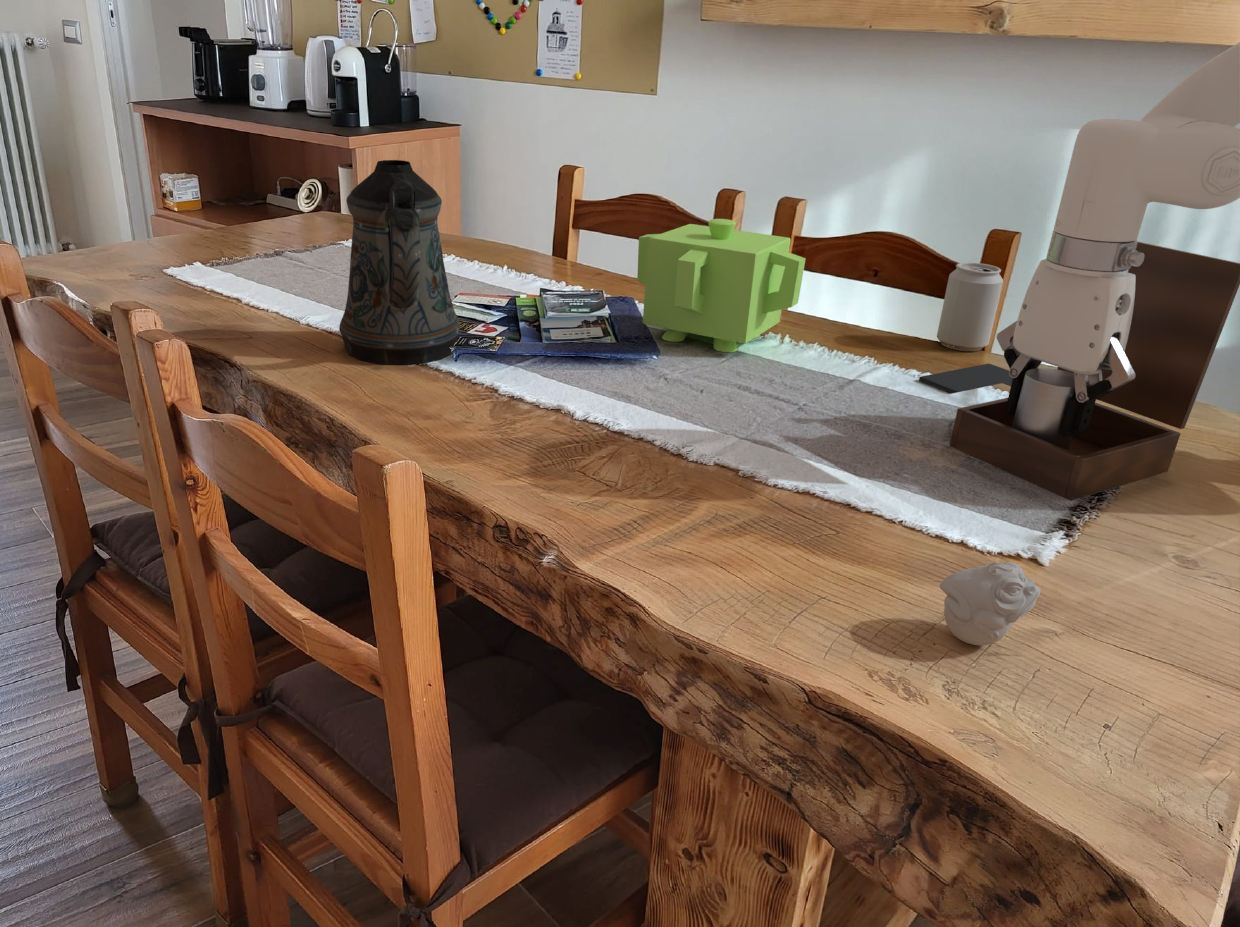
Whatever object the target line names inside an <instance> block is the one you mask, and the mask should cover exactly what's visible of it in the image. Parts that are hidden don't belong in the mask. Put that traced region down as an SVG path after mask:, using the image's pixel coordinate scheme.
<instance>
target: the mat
mask: <svg viewBox="0 0 1240 927" xmlns="http://www.w3.org/2000/svg"><path fill="white" fill-rule="evenodd" d="M1009 370H1010V369H1005V368H1003V367H1000V366H998V365H995V364H992V363H983V364H978V365H973V366H968V367H962V368H957V369H953V370H948V371H942V372H937V373H932V374H926V375H921V376H919V378H918V381H919V382H921V383H924V384H926V385H928V386H931V387H934V388H936V389H939V390H941V391H944V392H947V393H948V394H957V393H962V392H967V391H972V390H976V389H981V388H986V387H992V386H995V385H996V386H997V385H1000V384H1003V385H1006V386H1008V387H1011V384H1012V380H1013V378H1011V377H1010V375H1009Z"/></svg>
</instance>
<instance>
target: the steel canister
mask: <svg viewBox="0 0 1240 927" xmlns="http://www.w3.org/2000/svg"><path fill="white" fill-rule="evenodd" d="M1057 369H1058V368H1057ZM1057 369H1055V368H1046V367H1045V368H1043V367H1040V368H1039V367H1038V368H1037V369H1030V370H1028V371H1026V373H1025V377H1024V381H1023V385H1022V389H1021V393H1020V397H1019V401H1018V404H1017V408H1016V412H1015V416H1014V420H1013V424H1012V428H1014V429H1016V430H1019V431H1021V432H1024V433H1026V434H1029V435H1031V436H1034V437H1036V438H1038V439H1041V440H1043V441H1046V442H1048V443H1051V444H1053V445H1056V446H1058V447H1061V448H1063V449H1066V450H1068V451H1069V447H1070V443H1071V440H1072V436H1070V437H1064V436H1062V435H1061V433H1060V432H1061V428H1062V425H1063V421H1064V417H1065V414H1066V410H1067V407H1068V403H1069V401H1070V400H1072V399H1076V392H1075V381H1074V373H1071V372H1067V371H1062V370H1057Z"/></svg>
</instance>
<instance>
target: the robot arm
mask: <svg viewBox="0 0 1240 927" xmlns="http://www.w3.org/2000/svg"><path fill="white" fill-rule="evenodd" d="M1239 124H1240V41H1239V42H1236V44H1234V45H1232V46H1231V47H1229V48H1227V49H1226V50H1224V51H1222V52H1221V53H1219V54H1217V55H1216V56H1214V57H1213V58H1211V59H1210V60H1208V61H1207V62H1205V63H1203V64H1202V65H1201V66H1200V67H1198V68H1197V69H1195V70H1194V71H1193V72H1191V73H1190V74H1189V75H1188V76H1186V77H1184V79H1183V80H1182V81H1181V82H1179V83H1178V84H1177V85H1176V86H1175V87H1174V88H1172V89H1171V91H1169V92H1168V93H1167V94H1166V95H1165V96H1164V97H1163V98H1162V99H1161V100H1160V101H1158V102H1157V103H1156V104H1155V105H1154V106H1153V107H1152V108H1151V109H1150V110H1149V111H1148V112H1147V113H1146V114H1145V115H1144V116H1143V117H1141V119H1140V120H1132V119H1120V118H1119V119H1118V118H1117V119H1116V118H1114V119H1113V118H1099V119H1092V120H1090V121H1088V122H1086V123H1085V124H1083V125H1082V126H1081V128H1079V131H1078V132H1077V135H1076V138H1075V141H1074V145H1073V149H1072V153H1071V156H1070V162H1069V165H1068V169H1067V174H1066V177H1065V181H1064V185H1063V189H1062V193H1061V196H1060V197H1061V198H1060V202H1059V206H1058V209H1057V213H1056V217H1055V221H1054V225H1053V229H1052V233H1051V237H1050V241H1049V246H1048V249H1047V253H1046V258H1044V259H1041V260H1040V261H1039V263H1038V265H1037V267H1036V269H1035V271H1034V273H1033V276H1032V278H1031V280H1030V282H1029V284H1028V286H1027V289H1026V292H1025V295H1024V298H1023V299H1022V300H1023V301H1022V304H1021V307H1020V309H1019V313H1018V316H1017V320H1016V321H1014V322H1012V323H1011V324H1009V325H1007V327H1005V328H1004V329H1002V330H1001V331H999V332H998V333H997V334H996V339H997V342H998V344H999V347H1000V349H1001V350H1002V352H1003V357H1004V359H1005V361H1006V364H1007V366H1008V367H1009V368H1008V370H1009V375H1010V377H1011V378H1013V380H1012V384H1011V386H1010V389H1009V393H1008V397H1007V398H1008V405H1007V410H1006V413H1007V414H1009V415H1015V412H1016V408H1017V404H1018V401H1019V397H1020V393H1021V389H1022V385H1023V381H1024V377H1025V373H1026V371H1028V370H1030V369H1037V368H1039V367H1040V366H1041V364H1042V363H1045V364H1048V365H1051V366H1054V367H1057V368H1058V367H1060V368H1063V369H1066V370H1069V371H1072V372H1074V381H1075V392H1076V399H1072V400H1070V401H1069V403H1068V407H1067V410H1066V414H1065V417H1064V421H1063V425H1062V428H1061V432H1060V433H1061V435H1062V436H1064V437H1070V436H1074V435H1078V434H1082V433H1083V432H1084V431H1085V429H1086V428H1087V427H1088V425H1089V422H1090V419H1091V415H1092V412H1093V408H1094V405H1095V403H1096V401H1098V400H1097V399H1100V398H1102V397H1103V396H1104V395H1106V394H1108V393H1110V392H1112V391H1114V390H1115V389H1117V388H1118V387H1121V386H1122V385H1124V384H1126V383H1128V382H1130V381H1132V380H1134V379H1135V376H1136V375H1135V372H1134V370H1133V368H1132V366H1131V364H1130V362H1129V360H1128V358H1127V356H1126V354H1125V348H1126V344H1127V340H1128V335H1129V331H1130V326H1131V321H1132V315H1133V308H1134V300H1135V283H1136V276H1135V275H1134V274H1131V273H1128V270H1129V269H1130V268H1131V266H1136V267H1139V266H1140V265H1141V264H1142V263H1143V261H1144V257H1145V256H1144V253H1140V252H1138V251H1137V250H1136V247H1137V244H1138V242H1139V241H1138V238H1139V234H1140V232H1141V228H1142V224H1143V221H1144V217H1145V214H1146V211H1147V206H1148V204H1150V203H1160V204H1166V205H1172V206H1177V207H1182V208H1186V209H1187V208H1188V209H1194V210H1211V209H1216V208H1220V207H1224V206H1226V205H1229V204H1232V203H1234V202H1235V201H1237V200H1238V199H1240V128H1238V127H1236V126H1237V125H1239ZM1137 241H1138V242H1137ZM1102 369H1105V370H1112V374H1111V376H1109V377H1108V378H1106V379H1104V380H1103V379H1102Z"/></svg>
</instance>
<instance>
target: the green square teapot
mask: <svg viewBox="0 0 1240 927" xmlns="http://www.w3.org/2000/svg"><path fill="white" fill-rule="evenodd" d="M736 224H737V222H736V221H735V220H732V219H727V218H712V219H710V220H708V225H702V224H693V223H688V224H686V225H683V226H679V227H677V228H674V229H670V230H667V231H665V232H662V233H650V234H644V235H642V236H639V237H638V249H637V250H638V252H637V253H638V254H637V276H636V278H637V281H638V282H639V283H641V284H643V285H644V298H643V312H642V324H643V325H646V326H651V327H652V326H653V327H658V328H663V329H666V331H665V332H664V334H663V335H662V336H661V339H662V340H664V341H667V342H677V343H678V342H684V341H685V340H686V337H687V335H688V334H692V335H699V336H704V337H708V338H713V349H714V350H715V351H717V352H722V353H735V352H737V351H738V346H737V343H739V344H747V343H749V342H751V341H752V340H753V339H756V338H759V336H760V335H761V334H764V333H765V332H766V331H768V330H769V329H771V328H773V327H774V326H776V325H777V324H779V323H780V322H781V316H782V310H785V309H791V308H793V307H794V306H796V305H797V304H799V300H800V293H801V287H802V283H803V276H804V270H805V264H806V260H807V259H806V257H802V256H800V255H797V254H795V253H791V252H790V247H791V241H792V240H791V237H786V236H780V235H772V234H765V233H758V232H752V231H746V230H737V229H735V228H736Z"/></svg>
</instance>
